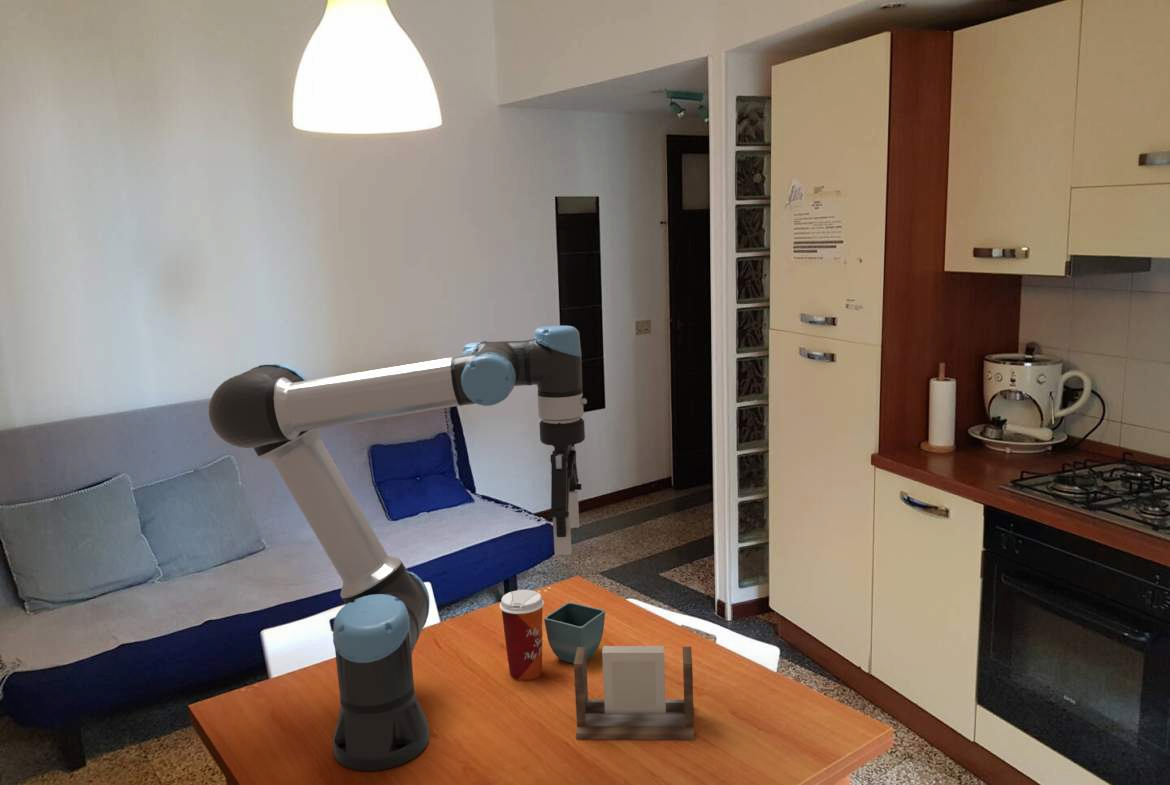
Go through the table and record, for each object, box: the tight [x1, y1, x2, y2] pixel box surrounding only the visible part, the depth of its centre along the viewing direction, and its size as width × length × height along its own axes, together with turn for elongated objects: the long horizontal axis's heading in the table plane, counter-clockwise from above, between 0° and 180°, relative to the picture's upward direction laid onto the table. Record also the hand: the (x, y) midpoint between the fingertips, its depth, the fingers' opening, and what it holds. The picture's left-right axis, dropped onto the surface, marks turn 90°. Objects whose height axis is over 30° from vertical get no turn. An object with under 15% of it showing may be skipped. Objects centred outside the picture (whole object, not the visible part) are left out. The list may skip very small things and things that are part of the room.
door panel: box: [601, 645, 667, 714], centre depth 147 cm, size 10×2×12 cm, turn 85°
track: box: [573, 646, 695, 741], centre depth 147 cm, size 19×10×12 cm, turn 85°
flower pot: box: [543, 601, 606, 664], centre depth 171 cm, size 9×9×9 cm
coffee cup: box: [499, 589, 545, 682], centre depth 165 cm, size 8×8×15 cm
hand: (567, 540), depth 153 cm, fingers open, 13 cm apart
